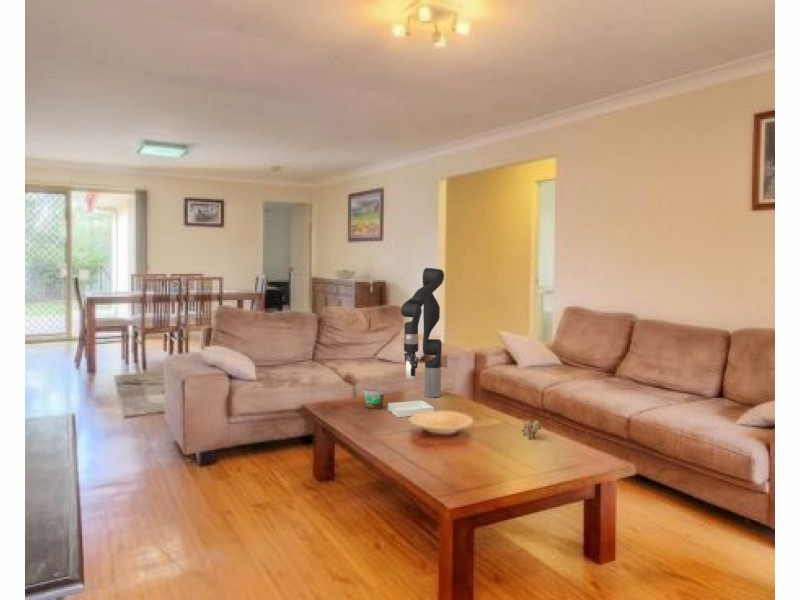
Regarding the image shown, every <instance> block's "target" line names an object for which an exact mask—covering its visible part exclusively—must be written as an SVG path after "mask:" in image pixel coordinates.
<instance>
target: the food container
mask: <svg viewBox="0 0 800 600" xmlns="http://www.w3.org/2000/svg"><path fill="white" fill-rule="evenodd" d="M362 394H363V395H364V402H365V403H364V405H365V408H366V410H370V409H377V410H381V408H382V409H383V408H384V407H383V405H384V399H385V398H384V397H385V394H386V391H385V389H382V390H377V389H366V387H364V388H363V390H362Z"/></svg>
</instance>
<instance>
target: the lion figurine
mask: <svg viewBox="0 0 800 600" xmlns="http://www.w3.org/2000/svg"><path fill="white" fill-rule="evenodd" d="M542 428H543V425H541V424H540V422H539V420H533V421H531V420H528V419H526V420H525V421H524V424H523V429H522V430H521V432H522V436H527V435H526V434H528V439H527V440H529V441H531V440H537V437H536V434H537V432H539V431H541V430H542ZM531 435H532V437H531Z"/></svg>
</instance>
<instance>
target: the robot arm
mask: <svg viewBox="0 0 800 600" xmlns="http://www.w3.org/2000/svg"><path fill="white" fill-rule="evenodd" d="M444 280H445V273H444V271H443V270H442V269H440V268H434V267H433V268H432V267H425V268H424V269H423V272H422V287H420V288H418V289H416V291H415V292H414V294H413V295H412V297H411V298H409V299H408V300H407V301H405V302H404V303H403V304H402V305H401V308H400V313H401V315H402V316H403V317H404V318H412V319H411V320H410V321H407V322H405V323H404V327H403V328H404V329H403V330H404V331H403V332H404V333H403V334H404V335H403V351H404V352H405V353H404V365H405V366H406V361H409V364H410V365H411V376H415V369H416V370H417V368H418V364H419V363H418V362H419V357H418V356H417V355H416V353H417V352H419V323H420V319H421V316H422V315H423V319H422V320H423V333H422V334H423V335H422V354H423V355H425V356H434V357H433V358H431V359H429V360H426V361H425V362H424V397H426V398H429V397H430V399H431V398H433V399H434V397H437V398H440V397H441V393H442V390H441V389H442V388H441V387H442V386H441V385H442V348H443V347H442V345H443V344H442V340H441V339H437V338H436V339H435V338H430V335H431V333H432V331H433V329H434V328H435V326H436V325H437V324H438V322H439V321H440V319H441V318H440V317H441V315H440V313H441V312H440V309H441V307H440V305H439V302H438V300H437V299H436V297H435V296H434V292H435V291H436V290H438V288H440V286H441V285H442V284H443V282H444ZM422 307H423V310H422ZM422 313H423V314H422Z"/></svg>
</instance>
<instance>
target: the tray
mask: <svg viewBox="0 0 800 600" xmlns="http://www.w3.org/2000/svg"><path fill="white" fill-rule="evenodd" d="M387 410H388V411H389V412H390V411H391V412H392V413H391V412H390V413H391V414H392V415H393V416H395V415H396V416H397V417H403V418H408V417H407V416H411V415H413V414H415V413H419V412H425V411H434V412H435V407H434V406H432V404H431V405H430V404H429V403H428V402H426V401H424V400H422V399H420V400H411V401H400V402H388V404H387ZM396 416H395V417H396ZM397 417H396V418H397Z"/></svg>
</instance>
